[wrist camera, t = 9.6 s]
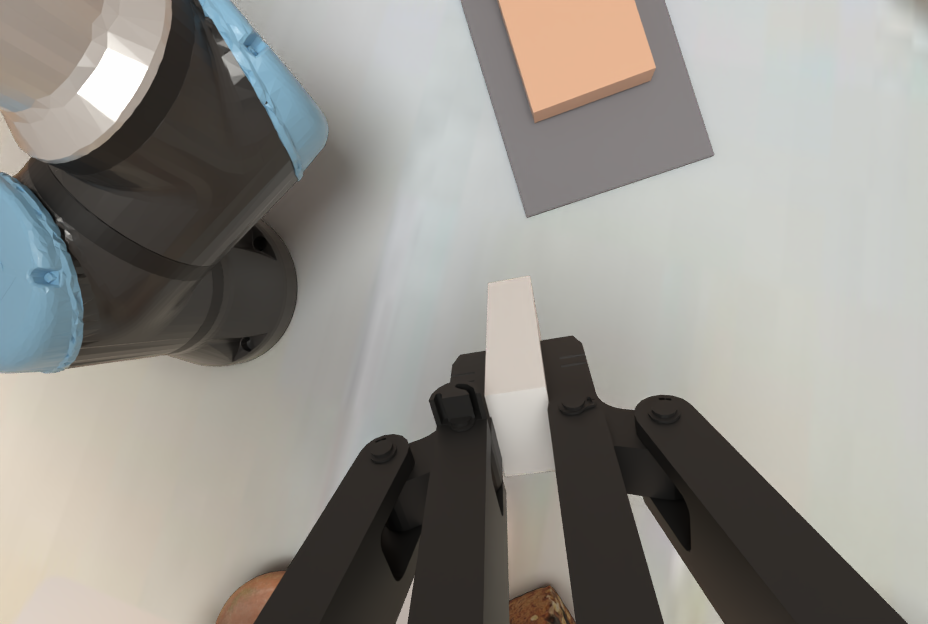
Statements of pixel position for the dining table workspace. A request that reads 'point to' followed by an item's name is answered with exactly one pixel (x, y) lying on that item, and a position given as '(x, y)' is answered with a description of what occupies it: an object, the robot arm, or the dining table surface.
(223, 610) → the ceramic jug
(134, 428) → the dining table surface
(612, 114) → the mat
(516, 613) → the bread
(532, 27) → the tile
